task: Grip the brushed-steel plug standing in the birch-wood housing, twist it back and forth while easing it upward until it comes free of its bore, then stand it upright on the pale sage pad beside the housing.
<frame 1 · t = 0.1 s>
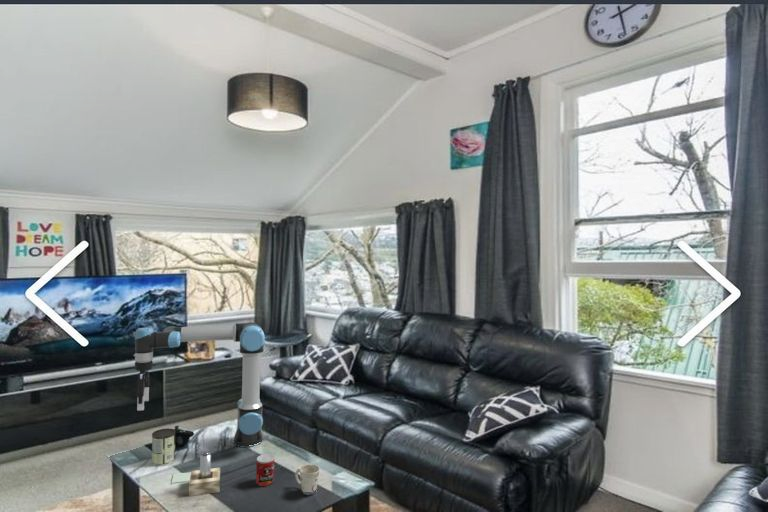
hand: (143, 405, 222), 28 cm above the table, fingers open, 13 cm apart
housing: (205, 486, 202), on the table
canned food: (264, 482, 208), on the table
pad: (182, 478, 210), on the table
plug: (205, 487, 202), resting in housing
coffee can: (163, 461, 225), on the table
controller: (182, 446, 243), on the table
mug: (305, 491, 201), on the table
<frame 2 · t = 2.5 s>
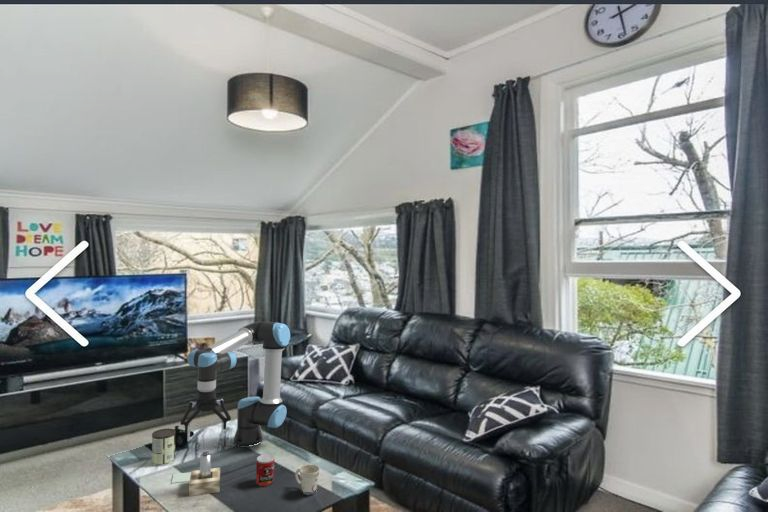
hand: (205, 438, 202), 21 cm above the table, fingers open, 13 cm apart
nothing on the table moved.
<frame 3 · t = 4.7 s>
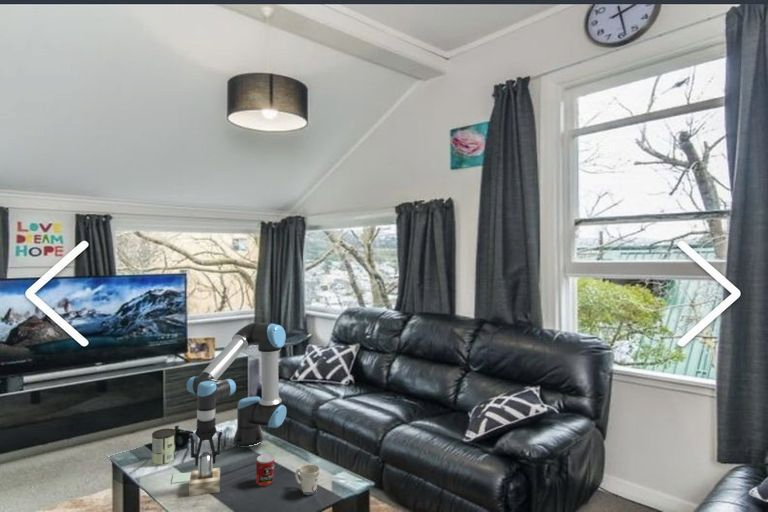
hand: (205, 471, 202), 7 cm above the table, fingers closed on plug, 4 cm apart
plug: (205, 487, 202), resting in housing, touching gripper
everything else where it was.
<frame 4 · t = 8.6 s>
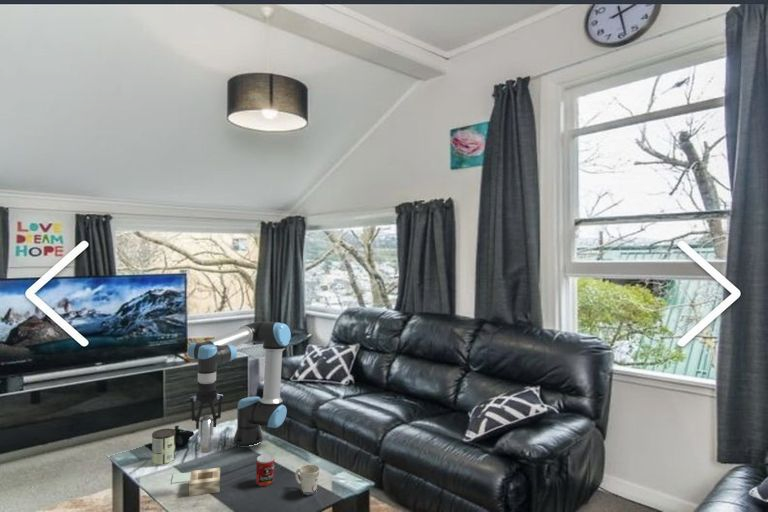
hand: (206, 435, 202), 23 cm above the table, fingers closed on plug, 4 cm apart
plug: (205, 450, 202), point 16 cm above the table, touching gripper
everything else where it was.
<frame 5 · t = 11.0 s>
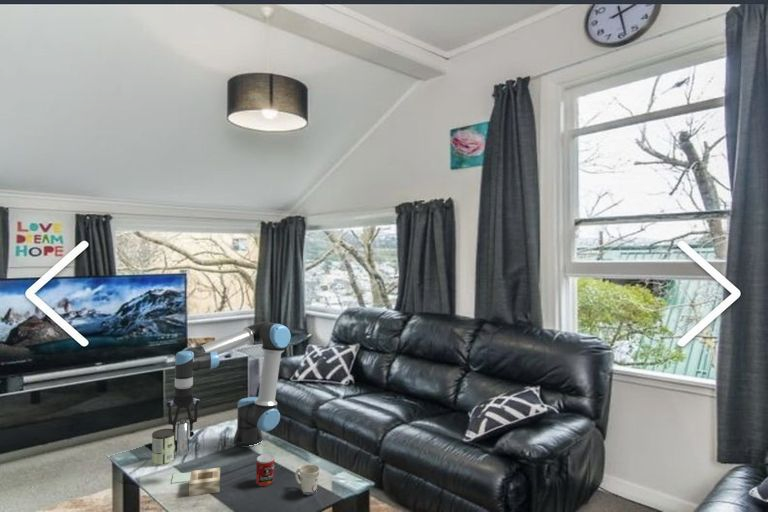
hand: (182, 438, 209), 18 cm above the table, fingers closed on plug, 4 cm apart
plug: (182, 453, 209), point 11 cm above the table, touching gripper
everything else where it was.
when the fingers open (9 cm above the table, at t = 12.8 s): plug drops 1 cm, resting on pad.
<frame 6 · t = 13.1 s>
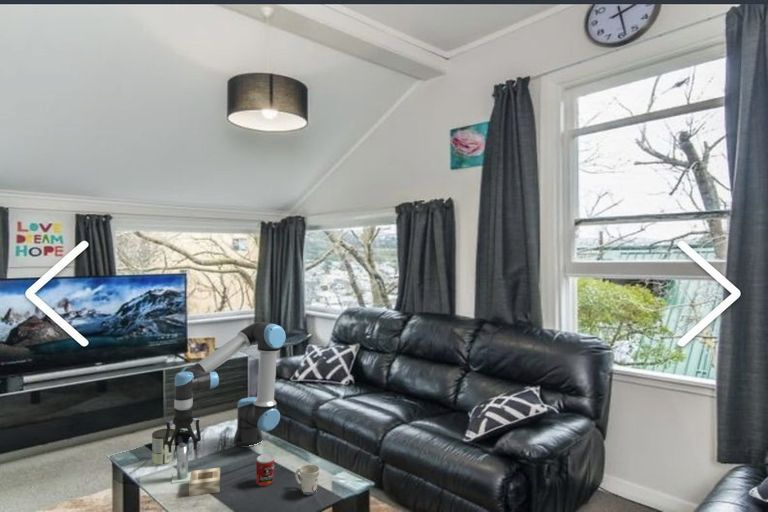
hand: (182, 457, 210), 9 cm above the table, fingers open, 8 cm apart
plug: (182, 477, 210), resting on pad
everything else where it was.
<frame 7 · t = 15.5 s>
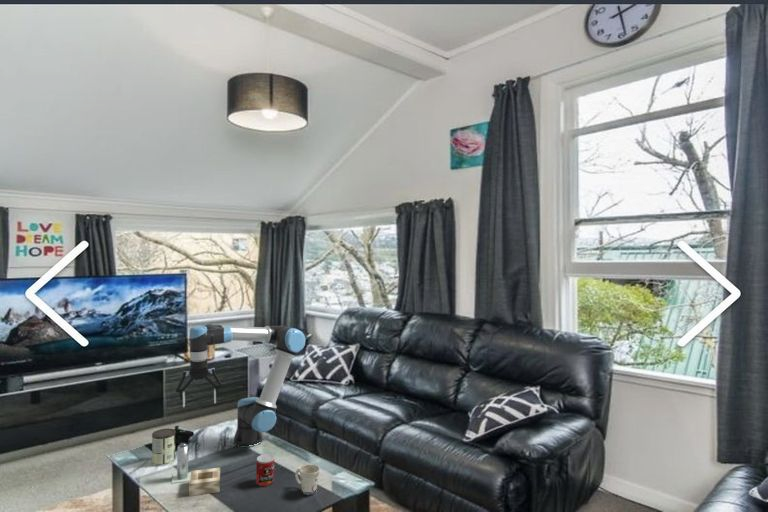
hand: (199, 404, 220), 30 cm above the table, fingers open, 13 cm apart
nothing on the table moved.
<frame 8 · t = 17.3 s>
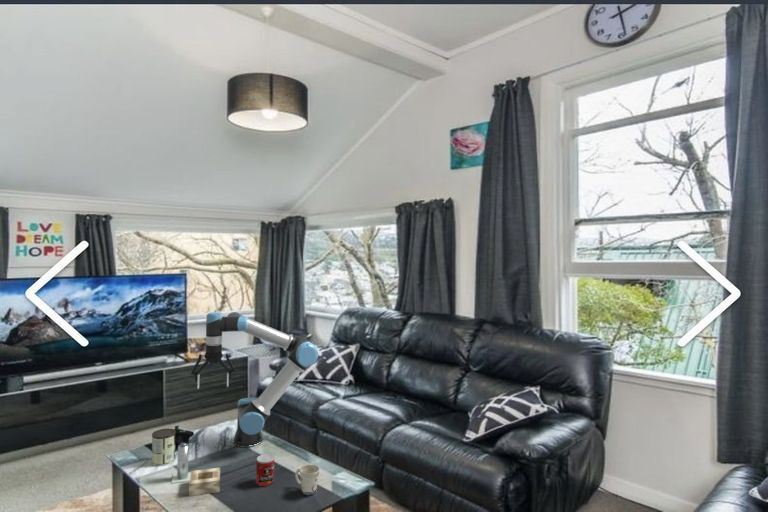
hand: (213, 387, 231), 35 cm above the table, fingers open, 13 cm apart
nothing on the table moved.
at the end: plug 0.1 cm off-centre on the pad, point 0.4 cm above the pad's base; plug tilted 1°; the gripper is holding nothing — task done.
